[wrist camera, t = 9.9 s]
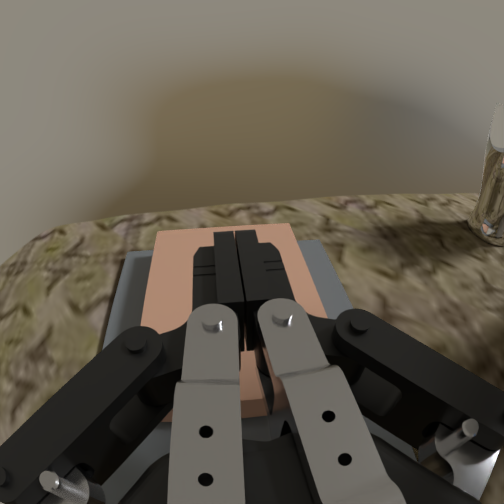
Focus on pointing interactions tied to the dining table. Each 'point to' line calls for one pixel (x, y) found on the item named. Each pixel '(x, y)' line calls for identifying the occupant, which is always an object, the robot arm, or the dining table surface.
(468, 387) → the robot arm
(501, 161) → the beer glass
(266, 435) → the mat
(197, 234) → the tile
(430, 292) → the dining table surface
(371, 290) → the dining table surface
